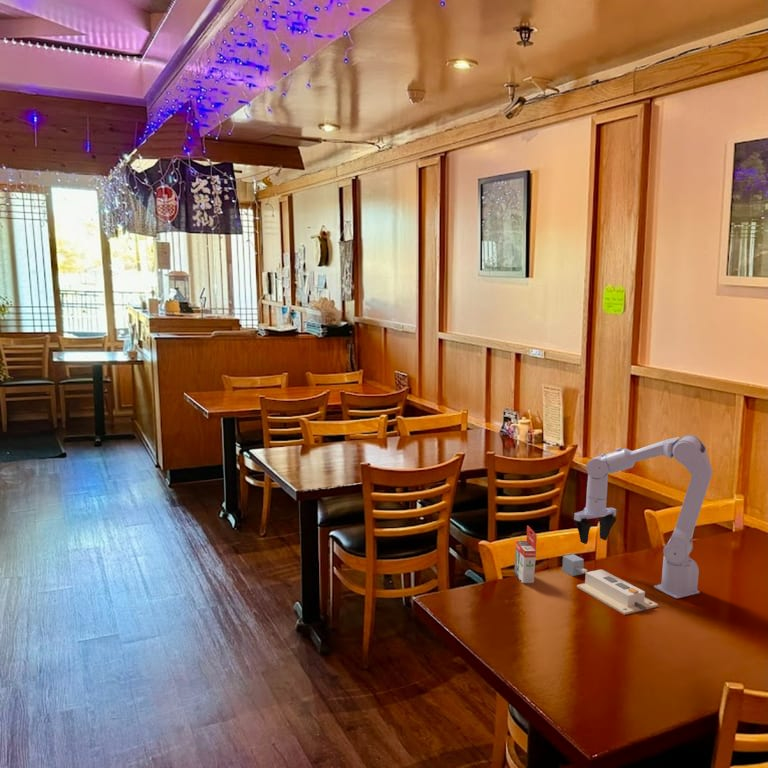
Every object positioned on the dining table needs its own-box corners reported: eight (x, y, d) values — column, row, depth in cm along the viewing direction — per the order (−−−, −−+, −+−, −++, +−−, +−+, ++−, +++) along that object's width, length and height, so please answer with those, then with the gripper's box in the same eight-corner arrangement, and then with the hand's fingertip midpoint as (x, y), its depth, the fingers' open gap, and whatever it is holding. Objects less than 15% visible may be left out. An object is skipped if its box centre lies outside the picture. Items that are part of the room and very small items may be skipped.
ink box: (522, 583, 191) (524, 534, 189) (513, 572, 199) (515, 525, 197) (534, 583, 192) (537, 534, 190) (525, 572, 200) (528, 524, 198)
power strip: (608, 580, 195) (609, 565, 195) (661, 608, 178) (662, 592, 178) (576, 587, 190) (577, 572, 189) (627, 616, 173) (628, 600, 172)
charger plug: (572, 568, 203) (573, 554, 203) (590, 577, 196) (591, 563, 196) (562, 570, 201) (563, 556, 201) (579, 580, 195) (580, 565, 194)
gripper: (605, 490, 205) (602, 533, 207) (568, 495, 199) (565, 539, 201) (622, 497, 199) (619, 541, 201) (584, 502, 193) (581, 547, 194)
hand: (593, 540), depth 200 cm, fingers open, 7 cm apart
